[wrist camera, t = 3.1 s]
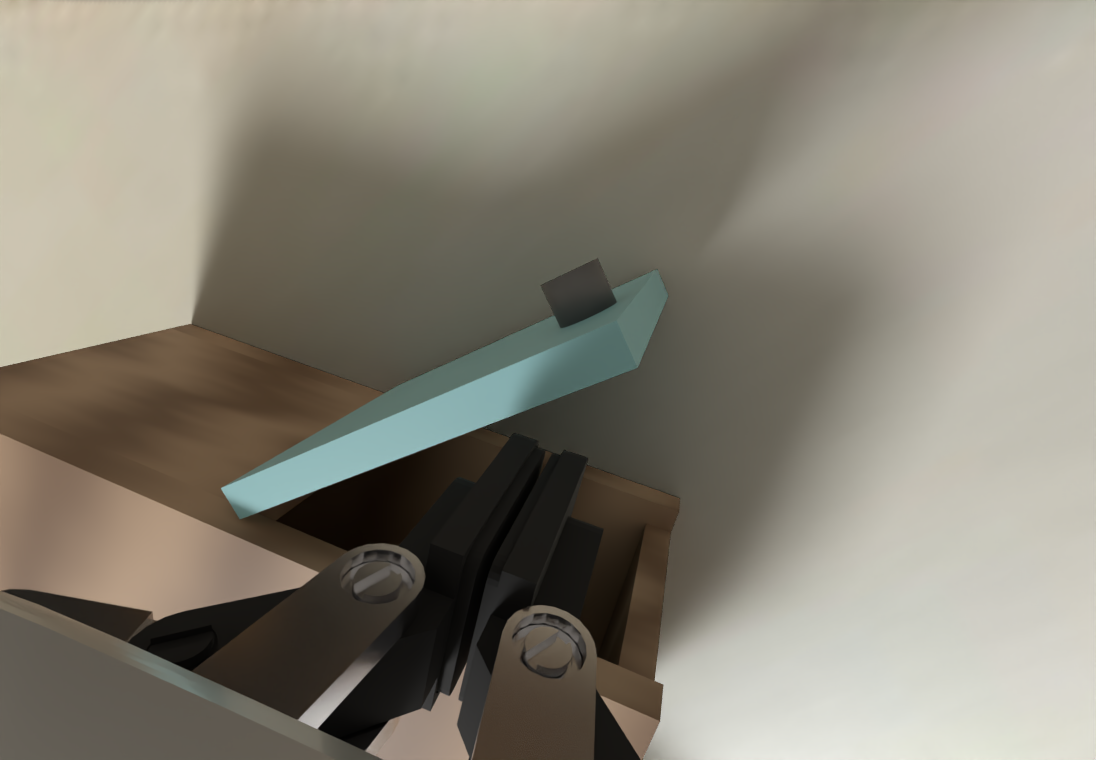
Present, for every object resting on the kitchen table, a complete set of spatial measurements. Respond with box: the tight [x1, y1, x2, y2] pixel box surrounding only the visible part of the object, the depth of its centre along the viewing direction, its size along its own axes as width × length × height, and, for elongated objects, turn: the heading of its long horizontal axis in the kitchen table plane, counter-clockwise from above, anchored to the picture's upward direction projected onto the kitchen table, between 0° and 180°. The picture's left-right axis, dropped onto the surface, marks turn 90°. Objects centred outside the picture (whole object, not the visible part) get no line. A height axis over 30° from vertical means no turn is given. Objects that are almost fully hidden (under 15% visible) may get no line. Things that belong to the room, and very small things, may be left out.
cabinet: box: [0, 324, 680, 760], centre depth 21 cm, size 24×12×10 cm, turn 77°
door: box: [221, 258, 668, 519], centre depth 16 cm, size 12×2×9 cm, turn 117°
